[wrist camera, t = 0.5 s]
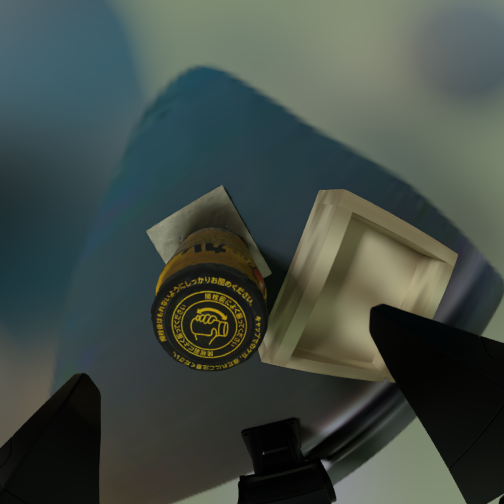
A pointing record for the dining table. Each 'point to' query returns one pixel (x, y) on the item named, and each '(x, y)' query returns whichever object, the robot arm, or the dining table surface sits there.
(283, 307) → the tan square tray
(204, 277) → the condiment
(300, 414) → the dining table surface
